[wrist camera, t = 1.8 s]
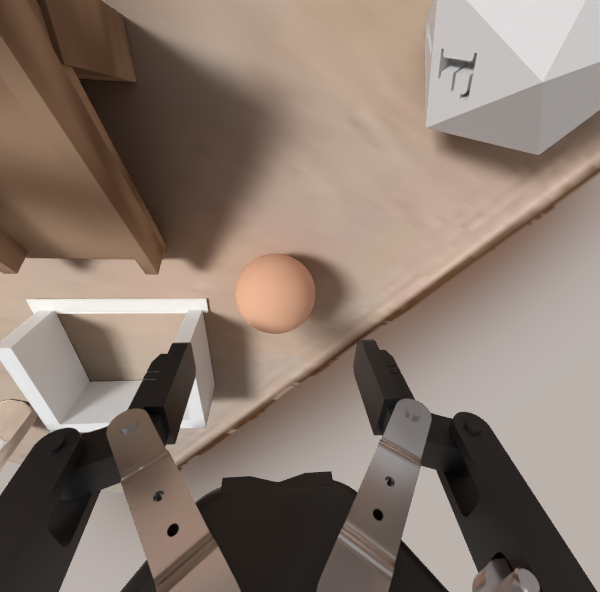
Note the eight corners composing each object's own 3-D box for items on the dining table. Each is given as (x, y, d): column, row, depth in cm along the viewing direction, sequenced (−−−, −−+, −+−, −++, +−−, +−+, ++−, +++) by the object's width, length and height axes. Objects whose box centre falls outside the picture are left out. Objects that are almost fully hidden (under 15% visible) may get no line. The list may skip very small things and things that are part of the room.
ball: (237, 240, 19) (226, 277, 14) (313, 242, 19) (324, 277, 15) (242, 305, 21) (234, 351, 17) (308, 304, 22) (317, 349, 18)
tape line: (27, 298, 20) (26, 299, 20) (206, 298, 21) (206, 299, 21) (35, 312, 20) (33, 313, 20) (208, 311, 21) (208, 312, 21)
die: (443, -128, 12) (399, -79, 7) (771, -258, 8) (1068, -313, 4) (424, 94, 18) (396, 192, 14) (604, 73, 15) (643, 195, 10)
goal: (39, 309, 20) (-9, 348, 17) (202, 308, 21) (188, 344, 18) (81, 390, 25) (50, 433, 21) (214, 386, 26) (206, 427, 22)
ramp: (-92, -11, 12) (-708, -226, 4) (121, 7, 13) (-99, -151, 5) (34, 255, 18) (-133, 351, 11) (172, 256, 19) (105, 347, 11)
